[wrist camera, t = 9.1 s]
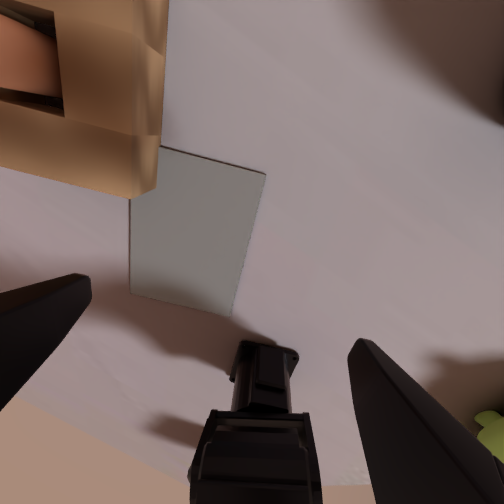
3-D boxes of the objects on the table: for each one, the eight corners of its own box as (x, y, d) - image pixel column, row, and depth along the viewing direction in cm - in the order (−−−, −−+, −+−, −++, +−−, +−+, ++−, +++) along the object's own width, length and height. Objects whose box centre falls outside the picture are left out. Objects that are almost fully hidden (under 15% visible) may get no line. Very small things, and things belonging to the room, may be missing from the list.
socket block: (158, 187, 19) (131, 199, 15) (3, 147, 18) (-63, 150, 14) (170, -24, 13) (133, -84, 10) (-48, -89, 13) (-174, -177, 9)
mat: (230, 315, 24) (229, 317, 23) (131, 291, 23) (130, 293, 23) (266, 174, 18) (266, 175, 17) (133, 139, 17) (131, 139, 17)
